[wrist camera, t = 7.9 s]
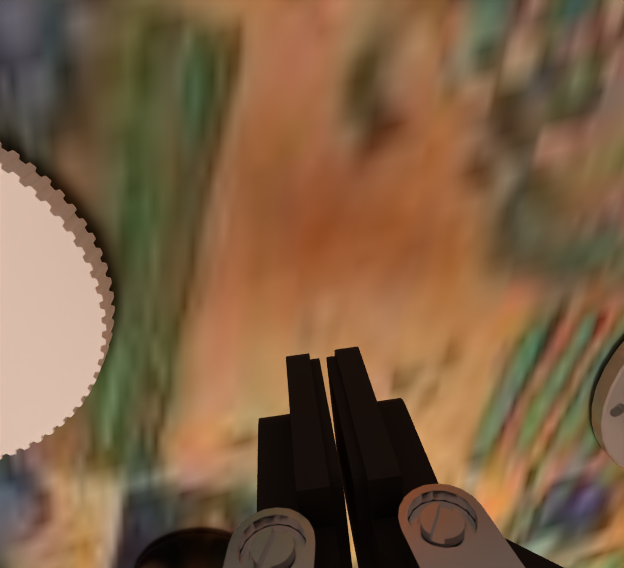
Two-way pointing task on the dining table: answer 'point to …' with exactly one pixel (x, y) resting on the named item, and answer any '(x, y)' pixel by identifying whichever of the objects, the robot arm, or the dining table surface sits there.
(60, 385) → the plastic lid
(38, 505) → the dining table surface
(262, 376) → the dining table surface
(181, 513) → the dining table surface
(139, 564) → the supplement bottle
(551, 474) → the dining table surface
